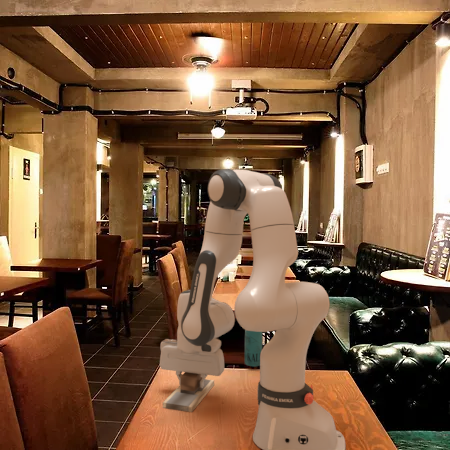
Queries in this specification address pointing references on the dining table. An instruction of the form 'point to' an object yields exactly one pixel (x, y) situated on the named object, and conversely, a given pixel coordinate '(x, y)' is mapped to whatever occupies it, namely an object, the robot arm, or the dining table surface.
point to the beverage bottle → (253, 348)
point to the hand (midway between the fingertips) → (191, 385)
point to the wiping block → (190, 383)
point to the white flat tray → (187, 398)
